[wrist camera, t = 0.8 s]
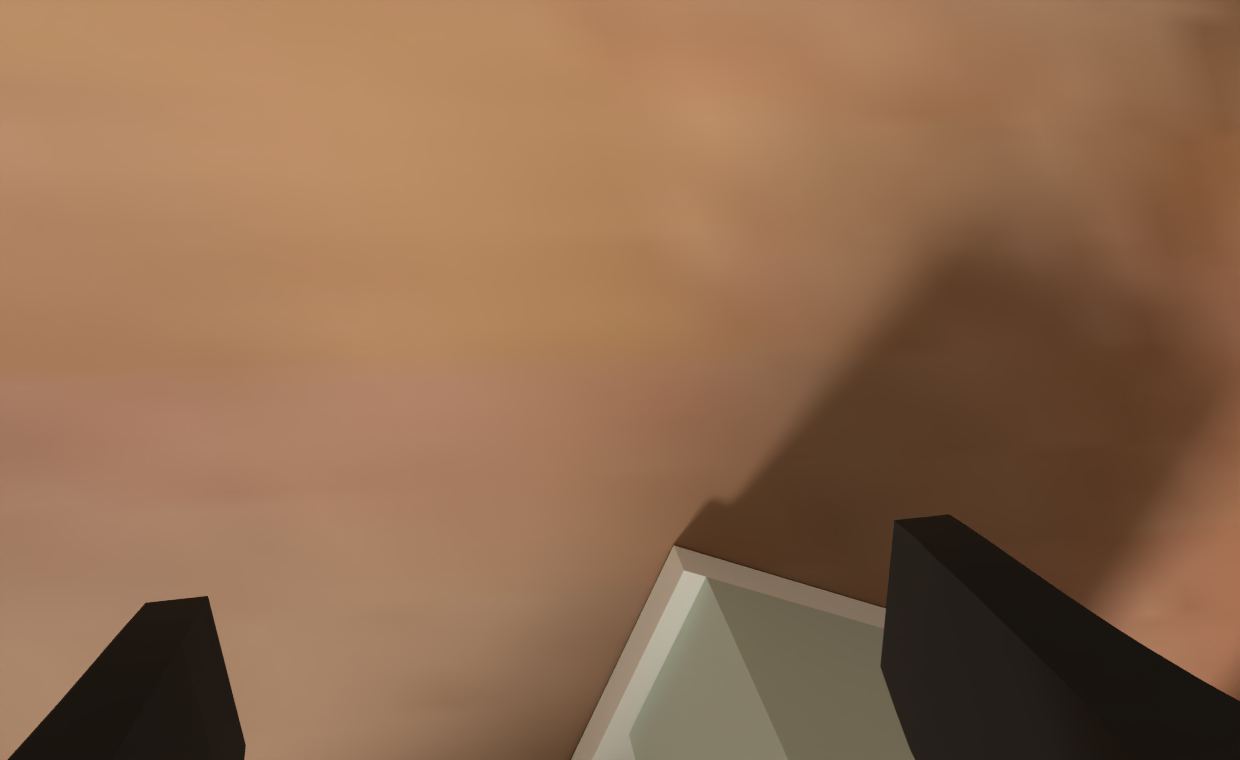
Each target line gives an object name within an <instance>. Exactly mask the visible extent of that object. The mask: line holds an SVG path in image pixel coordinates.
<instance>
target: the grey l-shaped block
mask: <svg viewBox="0 0 1240 760" xmlns="http://www.w3.org/2000/svg"><path fill="white" fill-rule="evenodd" d="M885 613H886V608H882V607H879V606H876V605H872V604H869V603H866V602H862V601H859V600H855V599H852V598H849V597H845V596H842V595H839V594H835V593H832V592H829V591H825V590H822V589H819V588H815V587H812V586H808V585H805V584H802V583H798V582H795V581H792V580H788V579H785V578H782V577H778V576H775V575H771V574H768V573H765V572H761V571H758V570H755V569H751V568H748V567H745V566H741V565H738V564H734V563H731V562H728V561H724V560H721V559H718V558H714V557H711V556H708V555H704V554H701V553H698V552H694V551H691V550H687V549H684V548H681V547H677V546H674V545H673V548H672V550H671V552H670V554H669V556H668V558H667V560H666V562H665V564H664V566H663V568H662V571H661V573H660V575H659V577H658V579H657V581H656V583H655V585H654V587H653V589H652V591H651V594H650V596H649V598H648V600H647V602H646V604H645V606H644V608H643V610H642V612H641V614H640V617H639V619H638V621H637V623H636V625H635V627H634V629H633V631H632V633H631V635H630V638H629V640H628V642H627V644H626V646H625V648H624V650H623V652H622V654H621V656H620V658H619V661H618V663H617V665H616V667H615V669H614V671H613V673H612V675H611V677H610V679H609V681H608V684H607V686H606V688H605V690H604V692H603V694H602V696H601V698H600V700H599V702H598V704H597V707H596V709H595V711H594V713H593V715H592V717H591V719H590V721H589V723H588V725H587V727H586V730H585V732H584V734H583V736H582V738H581V740H580V742H579V744H578V746H577V748H576V750H575V753H574V755H573V757H572V759H571V760H915V759H914V757H913V755H912V753H911V750H910V748H909V745H908V743H907V740H906V737H905V735H904V732H903V729H902V727H901V724H900V721H899V719H898V716H897V713H896V711H895V708H894V705H893V702H892V699H891V696H890V693H889V690H888V687H887V685H886V682H885V679H884V676H883V673H882V670H881V667H880V664H881V654H882V644H883V634H884V624H885Z"/></svg>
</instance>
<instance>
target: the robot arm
mask: <svg viewBox="0 0 1240 760" xmlns="http://www.w3.org/2000/svg"><path fill="white" fill-rule="evenodd" d="M880 667H881V670H882V673H883V676H884V679H885V682H886V685H887V687H888V690H889V693H890V696H891V699H892V702H893V705H894V708H895V711H896V713H897V716H898V719H899V721H900V724H901V727H902V729H903V732H904V735H905V737H906V740H907V743H908V745H909V748H910V750H911V753H912V755H913V757H914V759H915V760H1240V701H1238V700H1236V699H1235V698H1233V697H1231V696H1229V695H1227V694H1225V693H1224V692H1222V691H1220V690H1218V689H1216V688H1215V687H1213V686H1211V685H1209V684H1207V683H1206V682H1204V681H1202V680H1200V679H1199V678H1197V677H1195V676H1194V675H1192V674H1190V673H1189V672H1187V671H1185V670H1184V669H1182V668H1180V667H1179V666H1177V665H1175V664H1174V663H1172V662H1170V661H1169V660H1167V659H1165V658H1164V657H1162V656H1160V655H1159V654H1157V653H1155V652H1154V651H1152V650H1150V649H1149V648H1147V647H1145V646H1144V645H1142V644H1140V643H1139V642H1137V641H1136V640H1134V639H1133V638H1131V637H1129V636H1128V635H1126V634H1125V633H1123V632H1122V631H1120V630H1118V629H1117V628H1115V627H1114V626H1112V625H1111V624H1109V623H1108V622H1106V621H1105V620H1103V619H1102V618H1100V617H1098V616H1097V615H1095V614H1094V613H1092V612H1091V611H1089V610H1088V609H1086V608H1085V607H1083V606H1082V605H1080V604H1079V603H1078V602H1076V601H1075V600H1073V599H1072V598H1070V597H1069V596H1067V595H1066V594H1064V593H1063V592H1061V591H1060V590H1058V589H1057V588H1056V587H1054V586H1053V585H1051V584H1050V583H1048V582H1047V581H1045V580H1044V579H1042V578H1041V577H1040V576H1038V575H1037V574H1035V573H1034V572H1032V571H1031V570H1030V569H1028V568H1027V567H1025V566H1024V565H1022V564H1021V563H1020V562H1018V561H1017V560H1015V559H1014V558H1012V557H1011V556H1010V555H1008V554H1007V553H1005V552H1004V551H1002V550H1001V549H1000V548H998V547H997V546H995V545H994V544H992V543H991V542H990V541H988V540H987V539H985V538H984V537H982V536H981V535H979V534H978V533H977V532H975V531H974V530H972V529H971V528H969V527H968V526H966V525H965V524H963V523H962V522H960V521H958V520H957V519H955V518H954V517H952V516H951V515H940V516H931V517H921V518H912V519H903V520H895V521H894V531H893V542H892V552H891V562H890V572H889V583H888V593H887V603H886V613H885V624H884V634H883V644H882V654H881V664H880ZM245 746H246V745H245V741H244V737H243V733H242V729H241V725H240V722H239V718H238V714H237V710H236V706H235V702H234V698H233V694H232V690H231V686H230V682H229V678H228V674H227V670H226V666H225V662H224V658H223V654H222V650H221V646H220V642H219V639H218V635H217V631H216V627H215V623H214V619H213V615H212V611H211V607H210V603H209V599H208V596H204V597H195V598H186V599H177V600H168V601H159V602H149V603H145V604H144V605H143V607H142V608H141V609H140V610H139V611H138V612H137V613H136V614H135V616H134V617H133V618H132V619H131V620H130V621H129V622H128V623H127V624H126V626H125V627H124V628H123V629H122V630H121V631H120V632H119V634H118V635H117V636H116V637H115V638H114V639H113V640H112V642H111V643H110V644H109V645H108V646H107V647H106V649H105V650H104V651H103V652H102V653H101V654H100V656H99V657H98V658H97V659H96V660H95V661H94V663H93V664H92V665H91V666H90V667H89V668H88V670H87V671H86V672H85V673H84V674H83V675H82V677H81V678H80V679H79V680H78V681H77V682H76V684H75V685H74V686H73V687H72V688H71V689H70V690H69V692H68V693H67V694H66V695H65V696H64V697H63V699H62V700H61V701H60V702H59V703H58V704H57V705H56V706H55V708H54V709H53V710H52V711H51V712H50V713H49V714H48V715H47V717H46V718H45V719H44V720H43V721H42V722H41V723H40V724H39V725H38V727H37V728H36V729H35V730H34V731H33V732H32V733H31V734H30V735H29V737H28V738H27V739H26V740H25V741H24V742H23V743H22V744H21V745H20V747H19V748H18V749H17V750H16V751H15V752H14V753H13V754H12V755H11V757H10V758H9V759H8V760H244V756H245Z"/></svg>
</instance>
